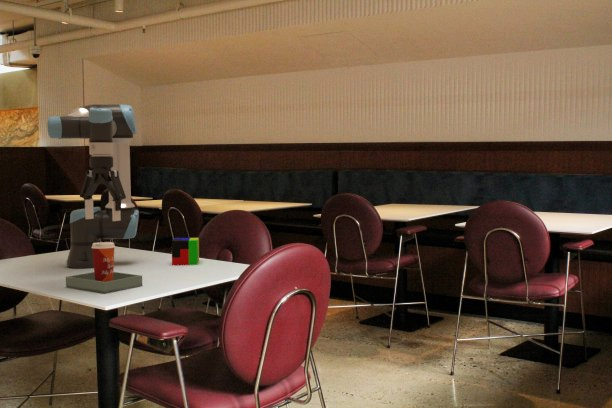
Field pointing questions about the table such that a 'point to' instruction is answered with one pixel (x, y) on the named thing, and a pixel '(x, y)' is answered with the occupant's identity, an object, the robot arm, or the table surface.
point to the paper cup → (103, 261)
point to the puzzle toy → (185, 251)
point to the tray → (118, 283)
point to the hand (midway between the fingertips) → (102, 219)
